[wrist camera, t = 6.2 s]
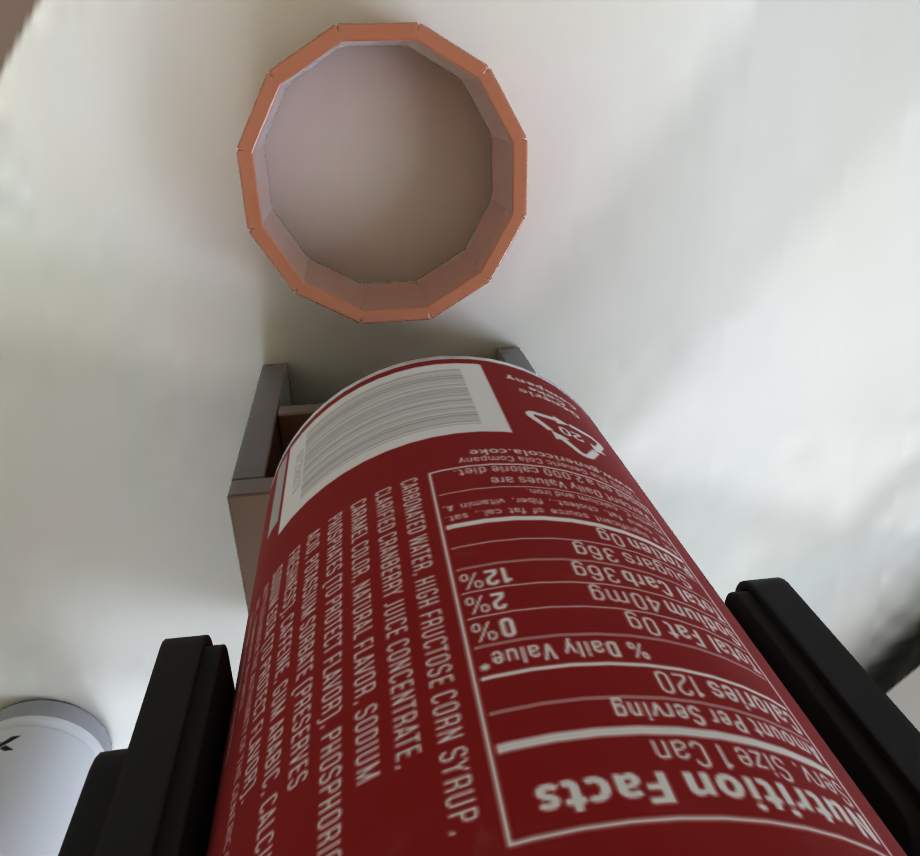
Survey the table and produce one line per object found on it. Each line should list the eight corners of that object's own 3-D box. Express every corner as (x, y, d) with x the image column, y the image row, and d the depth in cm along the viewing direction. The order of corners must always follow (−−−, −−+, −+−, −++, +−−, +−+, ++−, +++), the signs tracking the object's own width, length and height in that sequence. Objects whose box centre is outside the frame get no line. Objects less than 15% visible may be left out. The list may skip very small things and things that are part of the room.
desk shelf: (519, 346, 33) (597, 463, 23) (516, 587, 38) (577, 765, 28) (262, 364, 31) (226, 496, 21) (298, 611, 37) (282, 806, 27)
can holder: (504, 28, 27) (529, 20, 24) (503, 286, 31) (524, 313, 28) (235, 32, 26) (218, 25, 22) (271, 300, 30) (261, 330, 27)
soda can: (226, 383, 13) (-243, 1613, 3) (588, 308, 14) (1456, 1128, 3) (319, 662, 16) (273, 1772, 6) (615, 594, 17) (1099, 1516, 6)
